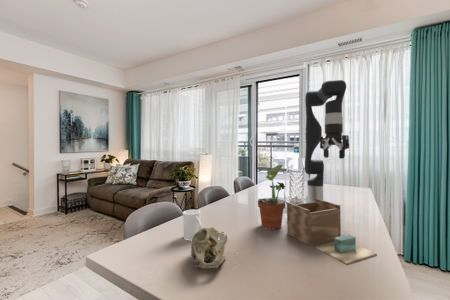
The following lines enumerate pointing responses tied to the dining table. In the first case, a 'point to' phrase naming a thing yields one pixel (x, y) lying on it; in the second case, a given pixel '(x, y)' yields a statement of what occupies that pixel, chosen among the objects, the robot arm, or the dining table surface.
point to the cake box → (314, 221)
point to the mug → (191, 223)
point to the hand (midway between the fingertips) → (333, 158)
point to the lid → (346, 250)
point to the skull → (208, 247)
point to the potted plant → (272, 204)
